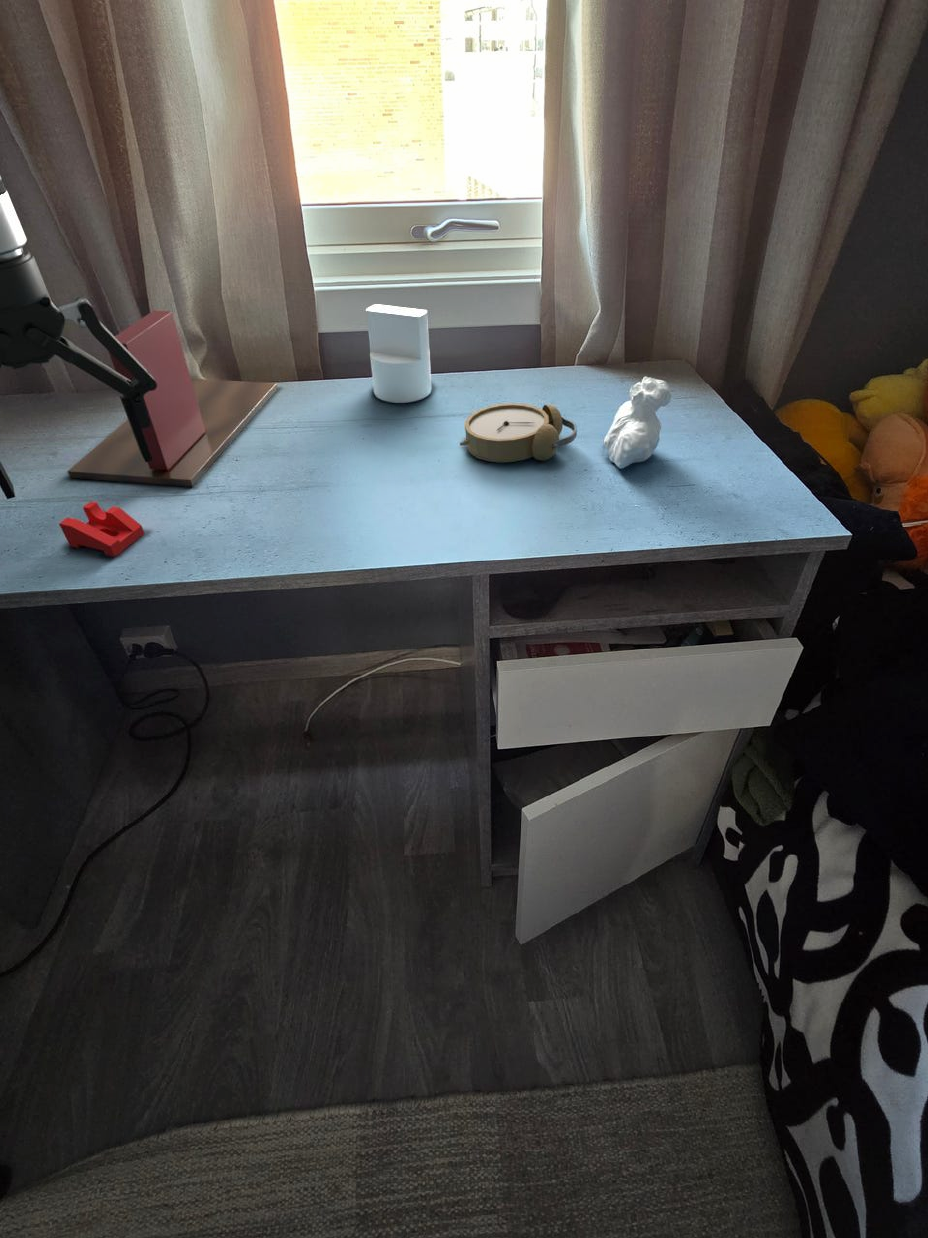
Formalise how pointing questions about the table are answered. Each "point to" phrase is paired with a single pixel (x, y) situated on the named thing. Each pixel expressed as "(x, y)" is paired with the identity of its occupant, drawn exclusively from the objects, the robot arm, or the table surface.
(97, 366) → the robot arm
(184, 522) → the table surface
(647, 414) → the white tied bag
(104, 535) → the bracket
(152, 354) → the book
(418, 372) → the cylinder with rectangular tab
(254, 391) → the stand
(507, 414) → the alarm clock
